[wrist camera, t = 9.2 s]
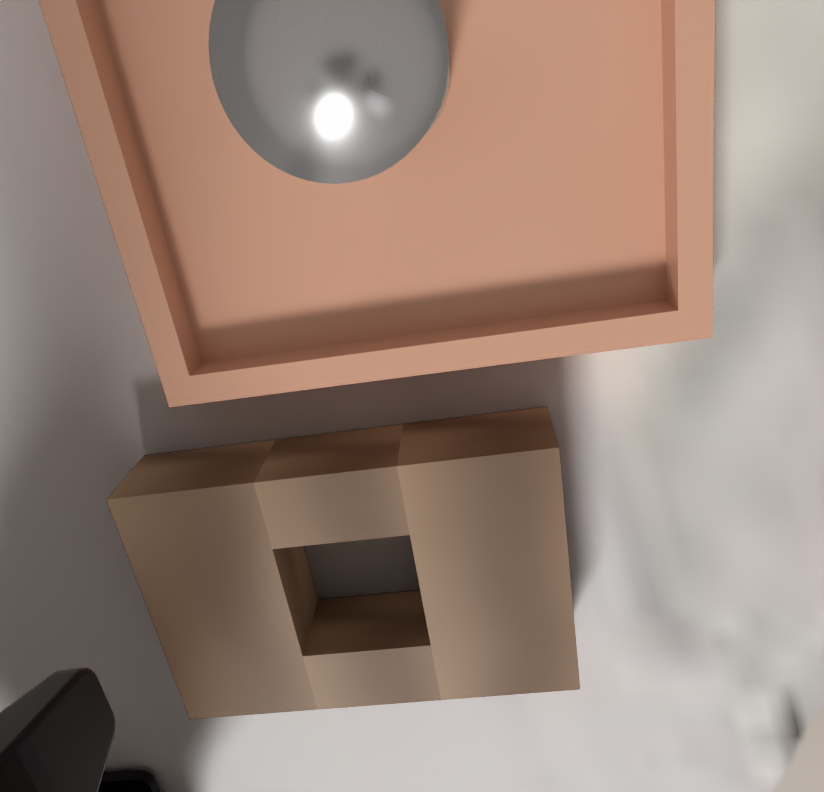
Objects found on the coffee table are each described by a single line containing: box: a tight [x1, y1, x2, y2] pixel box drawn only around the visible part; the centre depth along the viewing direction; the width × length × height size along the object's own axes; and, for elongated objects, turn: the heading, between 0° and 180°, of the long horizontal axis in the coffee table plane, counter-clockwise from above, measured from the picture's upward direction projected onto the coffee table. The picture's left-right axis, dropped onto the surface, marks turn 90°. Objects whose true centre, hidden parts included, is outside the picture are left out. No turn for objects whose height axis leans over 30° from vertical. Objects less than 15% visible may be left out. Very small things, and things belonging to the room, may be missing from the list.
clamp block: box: [106, 407, 580, 719], centre depth 21 cm, size 12×8×2 cm, turn 99°
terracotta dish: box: [39, 0, 715, 408], centre depth 16 cm, size 14×14×2 cm
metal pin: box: [208, 0, 450, 184], centre depth 12 cm, size 3×3×8 cm
